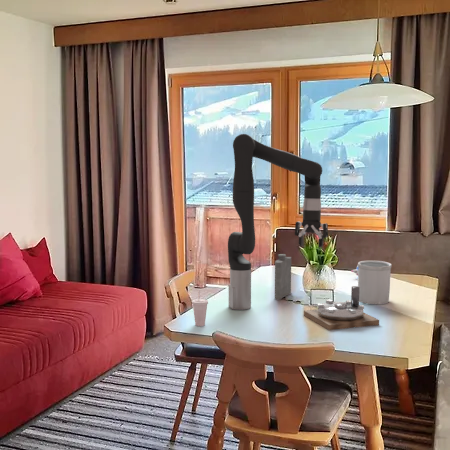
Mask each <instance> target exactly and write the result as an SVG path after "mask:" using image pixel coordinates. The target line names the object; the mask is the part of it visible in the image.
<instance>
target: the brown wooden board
mask: <svg viewBox="0 0 450 450" xmlns="http://www.w3.org/2000/svg"><path fill="white" fill-rule="evenodd" d="M303 316H305V317H306V318H308V319H309V320H311V321H313V322H315V323H316V324H318V325H320V326H322V327H323V328H325V329H326V330H328V331H333V330H334V331H335V330H342V329H344V330H345V329H353V328H354V327H355V328H362V327H371V326H372V327H373V326H379V325H380V319H378V318H376V317H374V316H372V315H370V314H368V313H365V312H364V311H363V317H362V318H360V319H356V320H333V319H327V318H324V317H321V316H320V315H319V314H318V308H316V309H307V310H303Z"/></svg>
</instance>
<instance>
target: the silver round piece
mask: <svg viewBox="0 0 450 450" xmlns="http://www.w3.org/2000/svg"><path fill="white" fill-rule="evenodd" d="M359 290H360V287H358V285H352V286H351V294H350V295H351V296H350V297H351V299H350V300H349V299H348V300H346V301H334V300H332V299H326V300H325V302H323V303H317V309H318V314H319V315H320V316H321V317H324V318H327V319H333V320H356V319H360V318H362V317H363V312H364V310H365V305H364V304H360V301H359Z"/></svg>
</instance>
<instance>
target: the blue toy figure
mask: <svg viewBox="0 0 450 450" xmlns="http://www.w3.org/2000/svg"><path fill="white" fill-rule="evenodd" d="M350 272H352V273H353V274H355V275H356V276H358V265H357V266H356V269H351V270H350Z"/></svg>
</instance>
